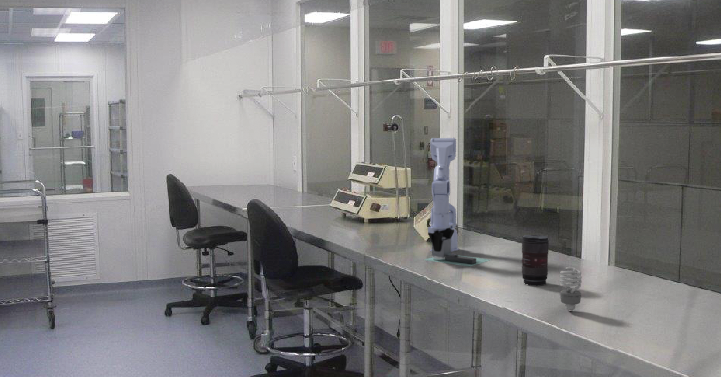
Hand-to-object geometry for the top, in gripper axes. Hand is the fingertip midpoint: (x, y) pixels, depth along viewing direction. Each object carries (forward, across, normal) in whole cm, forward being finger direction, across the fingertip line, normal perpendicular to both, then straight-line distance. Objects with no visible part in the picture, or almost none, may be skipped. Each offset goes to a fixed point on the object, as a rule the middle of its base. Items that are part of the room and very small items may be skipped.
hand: (441, 250), depth 274 cm
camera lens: (+4, +16, +44) cm, 47 cm away
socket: (+2, 0, 0) cm, 2 cm away
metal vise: (+3, 0, +5) cm, 6 cm away
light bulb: (+4, +40, +67) cm, 78 cm away
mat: (+4, -3, +5) cm, 7 cm away
